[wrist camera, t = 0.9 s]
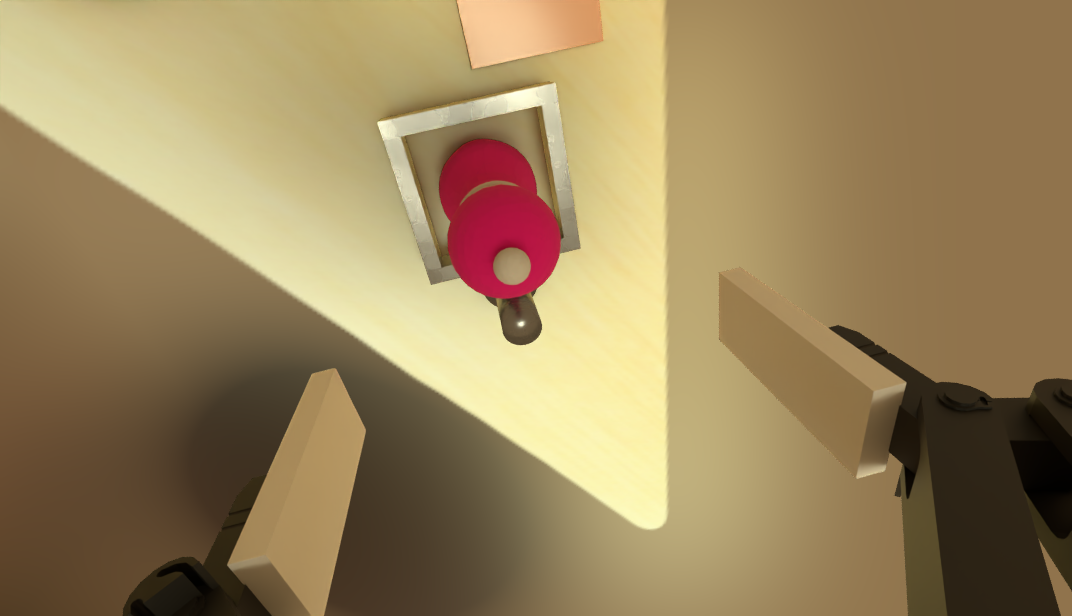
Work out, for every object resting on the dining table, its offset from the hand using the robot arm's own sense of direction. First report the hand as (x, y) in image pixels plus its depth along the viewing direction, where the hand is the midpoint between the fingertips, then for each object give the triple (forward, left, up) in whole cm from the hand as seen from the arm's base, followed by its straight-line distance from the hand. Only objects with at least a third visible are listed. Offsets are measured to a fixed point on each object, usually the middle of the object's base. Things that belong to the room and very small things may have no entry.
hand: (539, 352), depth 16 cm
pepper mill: (0, 0, -27) cm, 27 cm away
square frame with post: (+3, 0, -26) cm, 26 cm away
